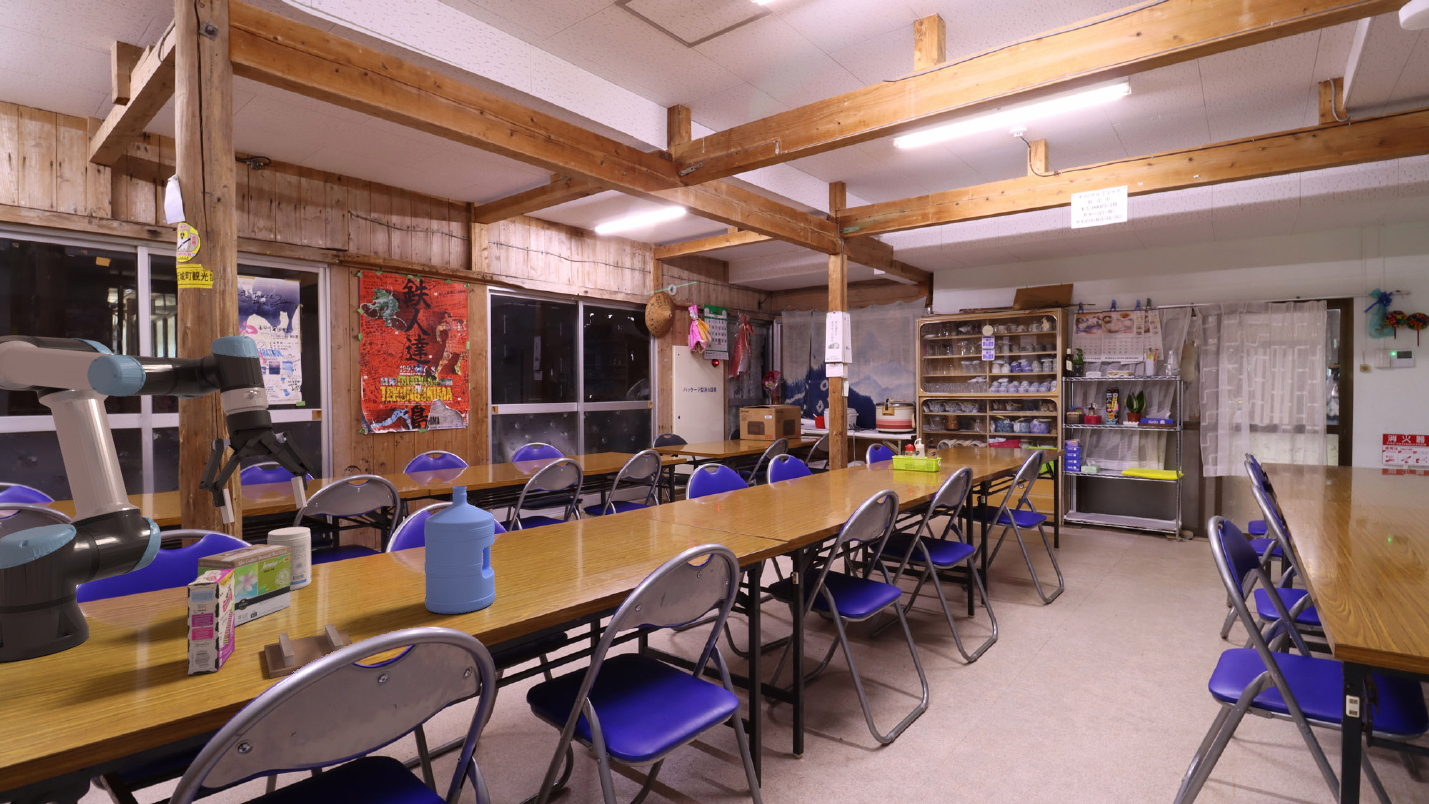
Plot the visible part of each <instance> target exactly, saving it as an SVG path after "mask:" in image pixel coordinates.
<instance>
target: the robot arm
mask: <svg viewBox="0 0 1429 804" xmlns="http://www.w3.org/2000/svg"><path fill="white" fill-rule="evenodd" d="M210 346H211V350H210V351H211V353H210V354H208V355H204V356H202V357H201V356H200V357H196V358H195V357H194V358H193V357H192V358H191V357H190V358H189V357H166V356H165V357H164V356H145V355H132V354H131V355H129V354H127V355H126V354H117V353H116V354H115V353H113V352H112V351H111V349H110V348H108V347H107V346H106V345H104V344H102V343H101V342H99V341H95V340H91V339H90V340H89V339H84V338H77V337H71V338H66V337H49V336H48V337H47V336H35V335H34V336H32V335H31V336H29V335H15V334H14V335H2V336H0V389H1V390H9V391H28V392H29V391H33V392H36V395H37V399H38V402H39V403H40V405H43V406H46V407H48V408H49V409H50V410H51V415H52V419H53V423H54V426H55V430H56V431H55V432H56V436H57V440H58V443H59V447H60V451H61V455H62V459H63V464H64V467H65V473H66V476H67V480H68V485H69V487H70V492H71V496H72V500H73V504H74V508H75V512H76V514H75V516H74V517H73V518H72V519H71V520H70V522H68V523H59V524H58V523H57V524H49V525H45V526H36V527H32V528H26V529H23V530H19V531H16V532H13V533H10V534H7V535H5V536H3V537H1V538H0V662H12V661H20V660H27V659H31V658H38V657H42V656H46V655H51V654H54V653H58V652H61V651H64V650H67V649H71V648H73V647H76V646H78V645H81V644H82V643H85V641H87V640H89V638H90V625H89V624H88V622H87V620H86V618H85V616H84V613H83V612H82V610H81V607H80V606H79V603H78V601H77V599H78V598H77V586H79V585H82V584H83V585H84V584H86V583H91V582H96V581H101V580H103V579H104V580H105V579H109V578H112V577H117V576H125V575H127V574H130V573H132V572H136V571H139V570H141V569H144V568H146V567H147V566H149V565H150V564H151V563H153V561H155V559H156V557H157V554H158V553H159V551H160V548H161V544H162V543H161V542H162V534H161V530H160V527H159V525H158V523H157V522H155V521H154V519H153V518H151V517H147V516H142V512H141V509H140V507H139V506H137V505H134V504H132V503H130V501H129V498H128V493H127V490H126V487H125V482H124V478H123V477H124V476H123V474H122V470H121V465H120V462H119V459H118V458H119V457H118V454H117V450H116V447H115V446H116V445H115V443H114V439H113V435H112V430H111V427H110V421H109V419H108V414H107V411H106V407H105V402H104V401H105V400H106V399H107V398H108V397H109V396H113V397H128V396H129V397H130V396H175V397H176V398H180V399H183V400H190V399H194V398H197V399H199V398H202V397H204V396H208V395H210V394H214V393H217V392H219V394H220V398H221V403H222V409H223V413H224V414H226V416H225V418H224V419H225V423H226V424H225V425H226V430H227V434H228V438H227V439H225V438H224V439H223V438H220V437H219V438H216V439H213V440H211V441H210V455H209V457H208V460H207V462H206V465H205V468H204V470H203V473H202V476H201V479H200V482H199V484H198V488H199V490H202V491H204V490H205V491H209V492H211V493H212V500H213V504H214V507H215V508H220V512H221V517H222V524H224V525H225V524H231V523H234V522H235V517H234V512H233V507H232V501H231V496H230V491H229V488H224V486H225V485H226V483H227V482H228V481H229V479H230V478H231V476H233V475H232V474H234V472H235V470H236V469H237V467H238V466H239V465H240V463H241V462H242V460H244V459H245V460H247V459H251V458H262V457H265V456H266V457H268V458H270V459H272V460H273V461H275V463H277V464H278V465H280V466H281V467H283V468H284V469H285V470H286V471H287V472H289V473H290V474H292V475H293V476H294V477H292V478H290V481H291V484H292V491H293V496H294V500H295V501H294V502H295V505H296V507H295V508H296V510H297V509H302V508H306V507H308V504H307V497H306V494H305V492H306V491H308V487H309V486H308V483H307V477H306V475H308V473H311V472H312V471H314V470H315V467H314V465H313V464H312V463H311V461H310V460H309V459H308V458H307V456H306V455H305V454H304V453H303V452H302V450H301V449H300V447H299V446H298V444H296V442H295V441H294V439H293V437H292V433H291V431H289V430H285V431H283V432H279V433H275V432H274V431H273V421H272V416H271V412H270V411H269V410H268V408H269V402H268V397H267V392H266V386H265V382H264V375H263V370H262V364H261V361H260V360H261V359H260V357H261V355H260V354H259V351H258V348H257V347H258V346H257V344H256V341H255V339H254V338H252V337H250V336H246V335H229V336H222V337H217V338H215V339H213V341H212V342H211V344H210ZM276 441H277V442H278V443H280V444H281V446H282V447H283V448H284V450H285V451H286V452H287V453H288V455H289V456H290V457H291V458H290V457H289V456H287V455H286V454H284V453H283V452H282V451H281V449H280V448H279V447H277V446H276V445H275V443H276ZM227 447H229V448H230V449H231V450H233V452H232V454H231V455H230V457H229V458H228V459H229V460H228V461H227V462H226V464H225V465H224V466H223V468H222V470H221V471H220V473H218V476H216V474H217V472H218V469H219V466H220V463H221V461H222V458H223V455H224V452H225V450H227ZM215 477H216V478H215ZM223 488H224V489H223Z"/></svg>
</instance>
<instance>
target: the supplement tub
mask: <svg viewBox="0 0 1429 804" xmlns="http://www.w3.org/2000/svg"><path fill="white" fill-rule="evenodd" d="M311 534H312V533H311V529H310V528H309V527H304V526H293V527H292V526H291V527H285V528H279V529H274V530H271V531H269V532H268V533H267V540H266V541H267V545H279V546H290V591H294V590H299V589H303V588H306V587H307V586H309V585H311V584H312V583H311V582H312V537H311Z"/></svg>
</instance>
